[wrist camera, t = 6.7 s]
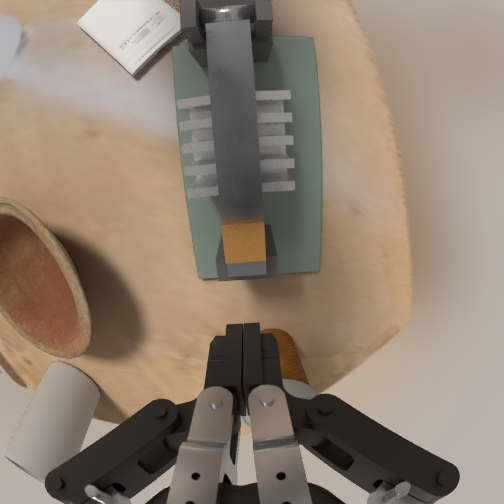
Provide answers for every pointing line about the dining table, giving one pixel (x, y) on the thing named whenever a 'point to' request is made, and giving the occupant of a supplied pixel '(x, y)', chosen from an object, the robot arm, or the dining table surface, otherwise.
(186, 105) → the heatsink
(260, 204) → the strap
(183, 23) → the hinge post
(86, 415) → the cylinder vase
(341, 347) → the dining table surface
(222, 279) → the post
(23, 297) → the bowl
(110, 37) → the external hard drive
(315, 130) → the board
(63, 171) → the dining table surface
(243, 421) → the disposable coffee cup
